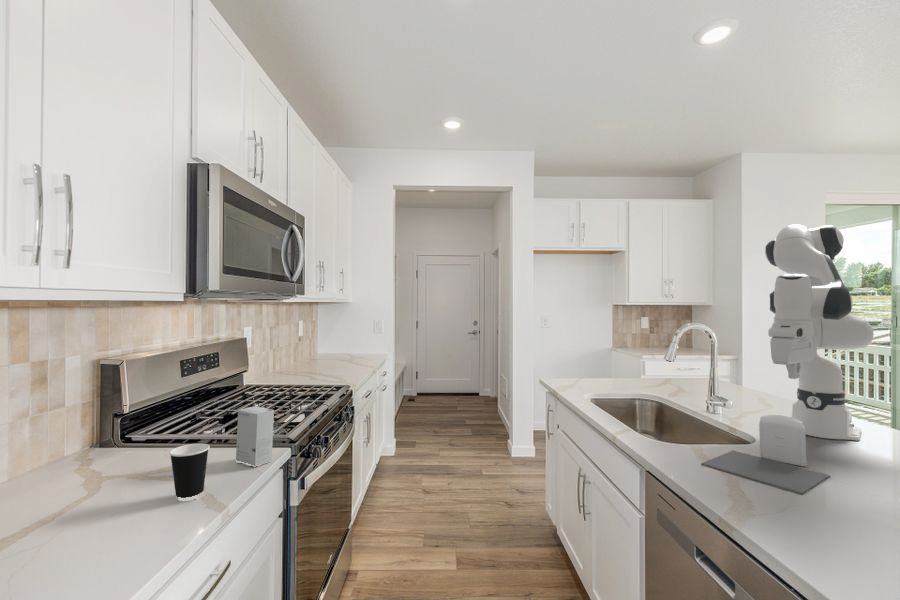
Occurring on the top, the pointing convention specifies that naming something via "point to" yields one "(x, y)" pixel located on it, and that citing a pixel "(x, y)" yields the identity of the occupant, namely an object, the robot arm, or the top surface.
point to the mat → (767, 471)
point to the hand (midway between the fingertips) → (794, 378)
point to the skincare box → (254, 435)
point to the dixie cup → (189, 469)
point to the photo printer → (782, 439)
